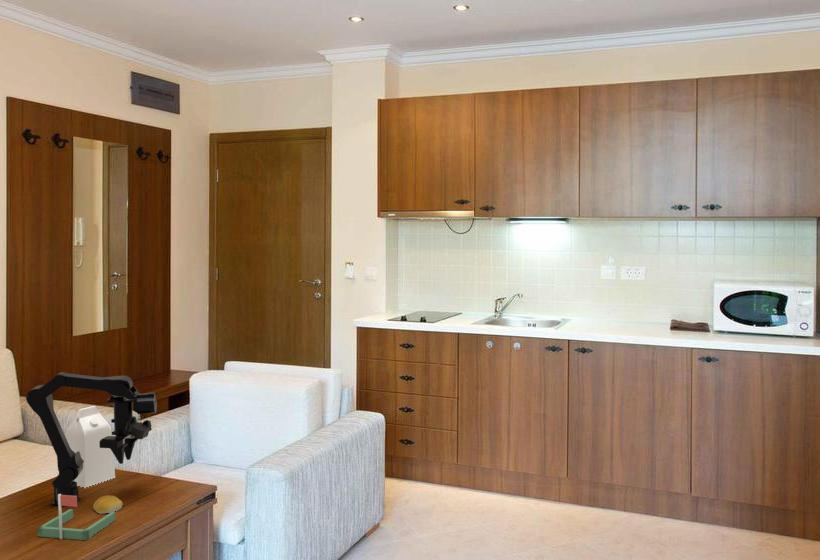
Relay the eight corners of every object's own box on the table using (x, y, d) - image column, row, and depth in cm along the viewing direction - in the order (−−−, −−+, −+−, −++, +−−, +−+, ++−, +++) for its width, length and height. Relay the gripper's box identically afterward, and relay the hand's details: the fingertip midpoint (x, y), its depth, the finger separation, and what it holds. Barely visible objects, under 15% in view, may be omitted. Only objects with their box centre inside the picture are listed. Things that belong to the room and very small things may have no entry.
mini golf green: (36, 537, 204) (34, 493, 203) (69, 517, 219) (68, 475, 218) (84, 541, 201) (82, 496, 201) (115, 520, 216) (114, 478, 215)
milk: (94, 472, 260) (92, 402, 258) (115, 477, 254) (112, 406, 252) (64, 482, 250) (61, 409, 248) (85, 488, 244) (82, 413, 242)
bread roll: (99, 517, 219) (99, 504, 219) (90, 508, 226) (90, 496, 226) (127, 510, 225) (126, 497, 224) (117, 502, 231) (116, 490, 231)
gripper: (129, 423, 223) (131, 472, 224) (160, 408, 241) (162, 454, 242) (97, 422, 225) (99, 470, 226) (130, 407, 243) (132, 452, 244)
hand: (124, 461), depth 234 cm, fingers open, 4 cm apart
